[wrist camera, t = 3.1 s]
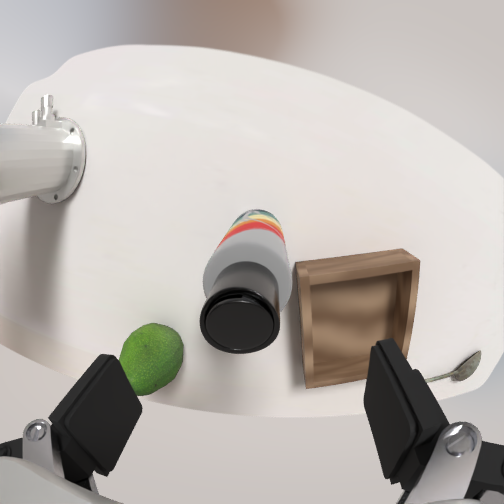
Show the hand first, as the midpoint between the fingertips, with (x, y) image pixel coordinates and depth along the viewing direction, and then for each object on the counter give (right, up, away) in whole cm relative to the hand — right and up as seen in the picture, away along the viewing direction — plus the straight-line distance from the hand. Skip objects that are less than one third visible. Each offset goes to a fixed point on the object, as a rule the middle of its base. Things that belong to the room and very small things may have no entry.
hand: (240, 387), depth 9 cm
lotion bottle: (+1, +7, +23) cm, 24 cm away
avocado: (-12, -7, +28) cm, 31 cm away
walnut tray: (+14, -3, +25) cm, 28 cm away
